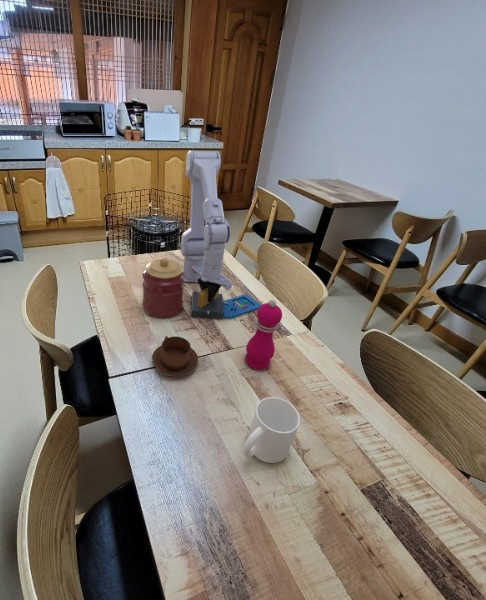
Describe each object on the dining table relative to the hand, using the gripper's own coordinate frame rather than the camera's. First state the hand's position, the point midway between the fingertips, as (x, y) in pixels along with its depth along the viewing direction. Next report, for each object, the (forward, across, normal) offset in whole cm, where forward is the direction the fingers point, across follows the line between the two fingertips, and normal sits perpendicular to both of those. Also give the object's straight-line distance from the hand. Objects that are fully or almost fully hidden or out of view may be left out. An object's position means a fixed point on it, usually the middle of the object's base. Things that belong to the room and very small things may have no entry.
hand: (208, 299), depth 109 cm
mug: (+4, +40, -32) cm, 51 cm away
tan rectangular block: (+1, 0, 0) cm, 1 cm away
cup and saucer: (+4, +10, -26) cm, 28 cm away
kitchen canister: (+4, -10, -10) cm, 15 cm away
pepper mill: (+4, +25, -10) cm, 27 cm away
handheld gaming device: (+4, +6, +8) cm, 11 cm away
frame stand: (+3, 0, 0) cm, 3 cm away
